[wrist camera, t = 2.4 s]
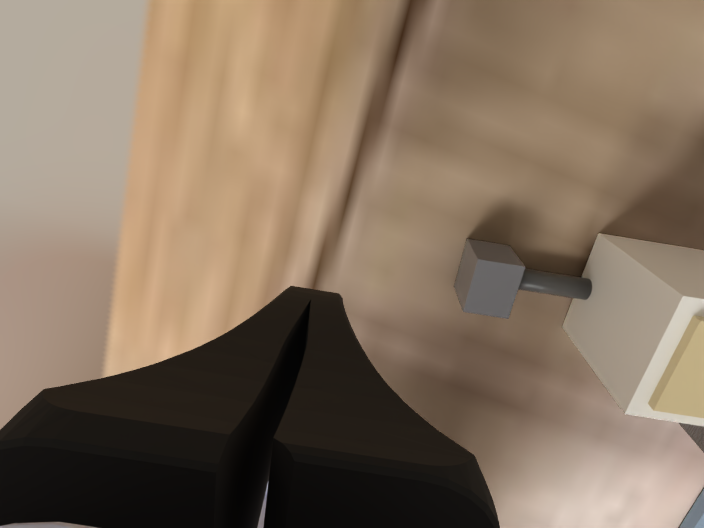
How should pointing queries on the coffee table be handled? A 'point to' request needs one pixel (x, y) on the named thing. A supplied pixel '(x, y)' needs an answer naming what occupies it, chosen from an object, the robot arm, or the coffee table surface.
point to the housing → (695, 433)
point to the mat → (695, 514)
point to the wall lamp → (614, 316)
